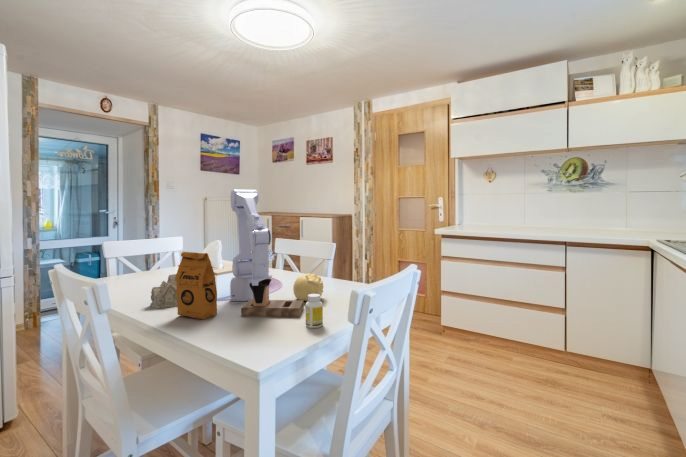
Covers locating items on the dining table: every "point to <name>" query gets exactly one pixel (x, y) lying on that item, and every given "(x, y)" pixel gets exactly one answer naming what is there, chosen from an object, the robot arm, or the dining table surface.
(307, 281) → the sculpture
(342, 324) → the dining table surface
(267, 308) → the socket board
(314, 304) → the supplement bottle
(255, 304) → the square peg
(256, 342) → the dining table surface
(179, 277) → the coffee package
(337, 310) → the dining table surface
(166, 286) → the ceramic cottage
